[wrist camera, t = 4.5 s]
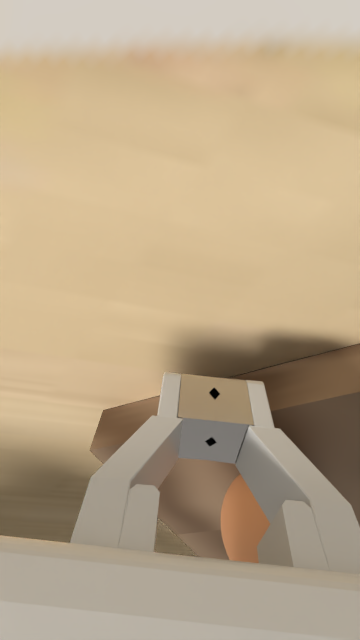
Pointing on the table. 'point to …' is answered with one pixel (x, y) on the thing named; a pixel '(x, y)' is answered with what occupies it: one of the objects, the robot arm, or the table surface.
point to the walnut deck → (288, 415)
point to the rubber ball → (242, 522)
